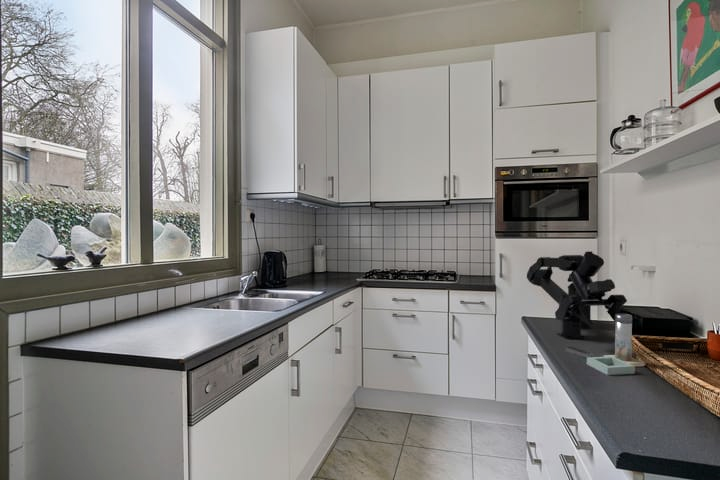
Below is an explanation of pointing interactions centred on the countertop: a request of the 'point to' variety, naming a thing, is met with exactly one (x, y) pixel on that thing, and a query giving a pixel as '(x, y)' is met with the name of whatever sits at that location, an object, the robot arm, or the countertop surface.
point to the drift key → (579, 352)
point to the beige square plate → (632, 361)
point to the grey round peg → (623, 336)
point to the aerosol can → (583, 325)
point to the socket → (617, 367)
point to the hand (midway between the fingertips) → (606, 325)
